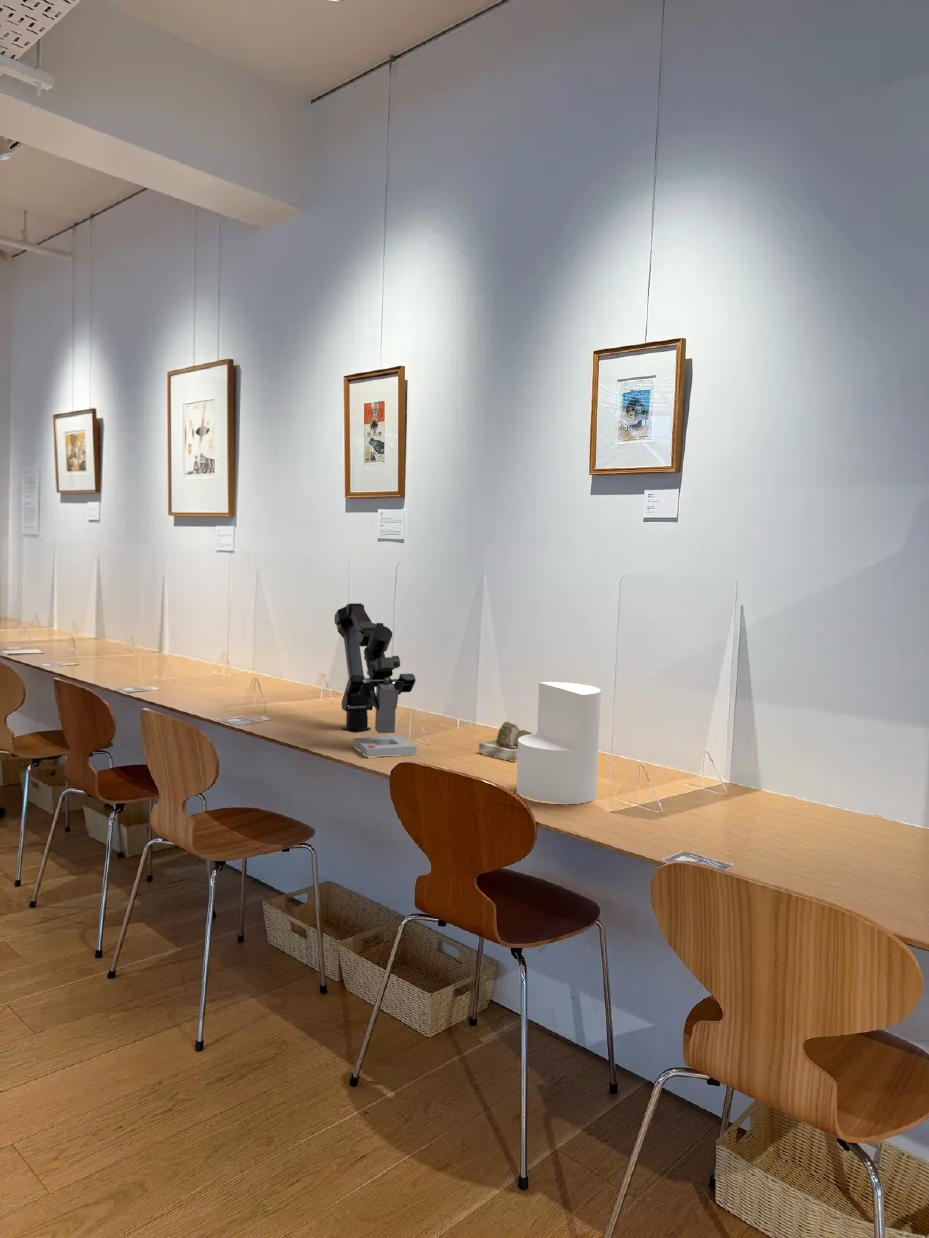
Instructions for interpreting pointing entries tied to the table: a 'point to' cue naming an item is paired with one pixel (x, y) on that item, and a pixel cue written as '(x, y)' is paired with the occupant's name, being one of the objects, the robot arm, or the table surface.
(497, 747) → the tray
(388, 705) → the plug
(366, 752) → the socket
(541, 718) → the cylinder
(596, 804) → the table surface
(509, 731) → the toy
